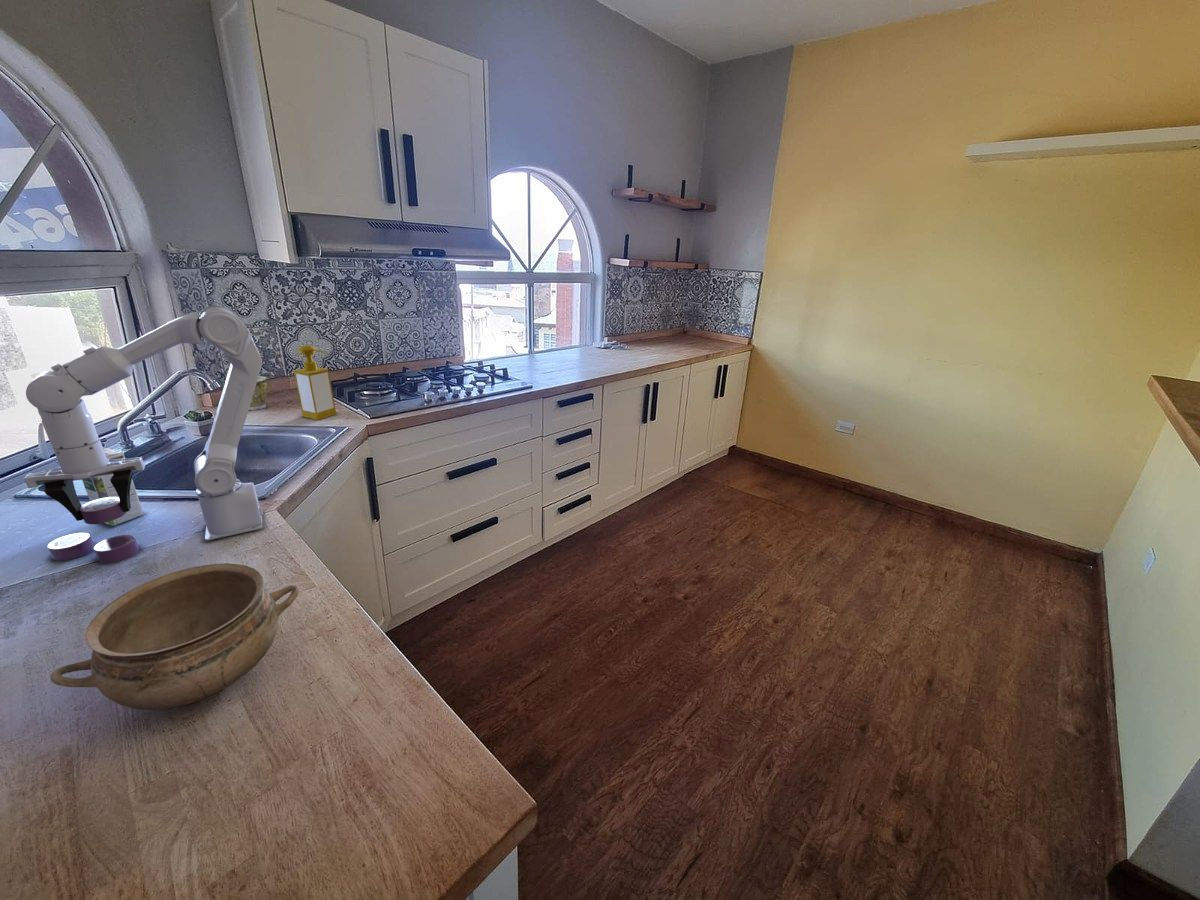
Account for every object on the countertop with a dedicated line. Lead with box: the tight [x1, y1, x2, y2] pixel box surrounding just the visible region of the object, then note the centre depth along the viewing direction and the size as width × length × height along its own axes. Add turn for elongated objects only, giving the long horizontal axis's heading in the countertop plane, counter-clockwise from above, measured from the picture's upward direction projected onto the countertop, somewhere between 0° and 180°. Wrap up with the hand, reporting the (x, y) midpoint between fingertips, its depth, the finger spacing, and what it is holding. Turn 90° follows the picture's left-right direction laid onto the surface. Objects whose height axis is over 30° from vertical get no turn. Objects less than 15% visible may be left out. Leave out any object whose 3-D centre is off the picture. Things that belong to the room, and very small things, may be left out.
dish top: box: [46, 532, 95, 562], centre depth 92 cm, size 6×6×2 cm
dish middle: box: [79, 497, 126, 525], centre depth 89 cm, size 6×6×2 cm
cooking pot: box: [50, 562, 300, 711], centre depth 65 cm, size 25×19×12 cm
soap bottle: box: [293, 344, 337, 421], centre depth 164 cm, size 7×13×24 cm, turn 65°
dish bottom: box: [93, 534, 140, 564], centre depth 92 cm, size 6×6×2 cm
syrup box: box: [81, 447, 144, 527], centre depth 102 cm, size 6×6×14 cm
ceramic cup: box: [248, 375, 272, 411], centre depth 173 cm, size 13×10×10 cm
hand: (104, 513), depth 89 cm, fingers closed on dish middle, 5 cm apart
